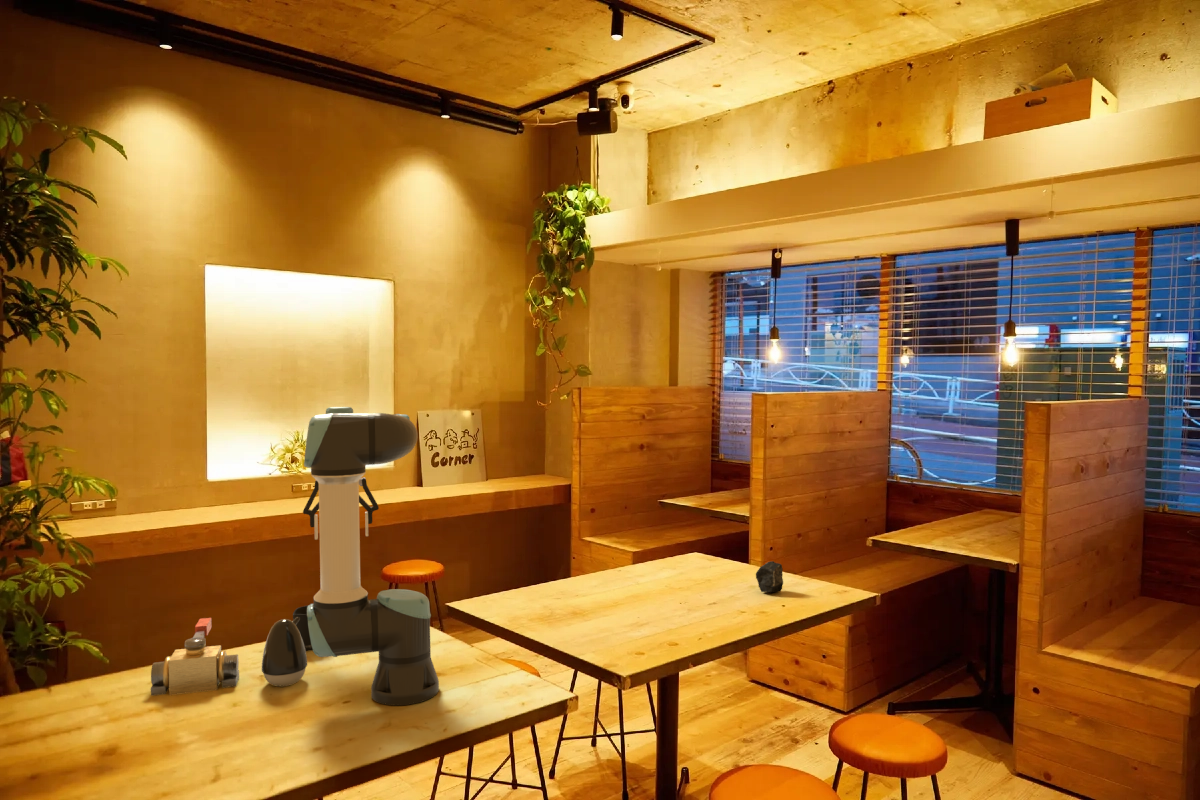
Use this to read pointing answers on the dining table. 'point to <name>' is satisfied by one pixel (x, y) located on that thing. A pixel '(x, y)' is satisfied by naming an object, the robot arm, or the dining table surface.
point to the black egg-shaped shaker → (284, 654)
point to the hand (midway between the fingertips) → (341, 537)
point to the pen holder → (303, 626)
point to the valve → (194, 671)
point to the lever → (199, 634)
